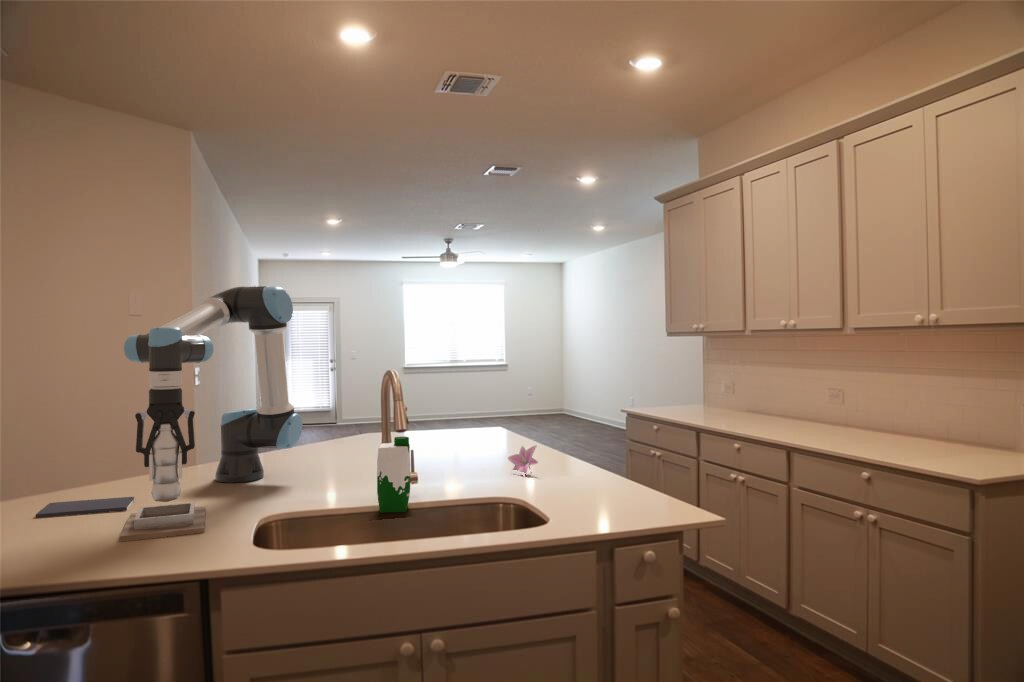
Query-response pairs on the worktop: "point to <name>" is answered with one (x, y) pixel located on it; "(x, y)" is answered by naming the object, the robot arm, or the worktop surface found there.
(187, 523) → the bottle stand
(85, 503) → the notebook
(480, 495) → the worktop surface
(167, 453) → the plastic bottle
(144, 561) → the worktop surface
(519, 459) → the lily
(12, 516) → the worktop surface
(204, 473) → the worktop surface
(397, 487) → the milk carton
